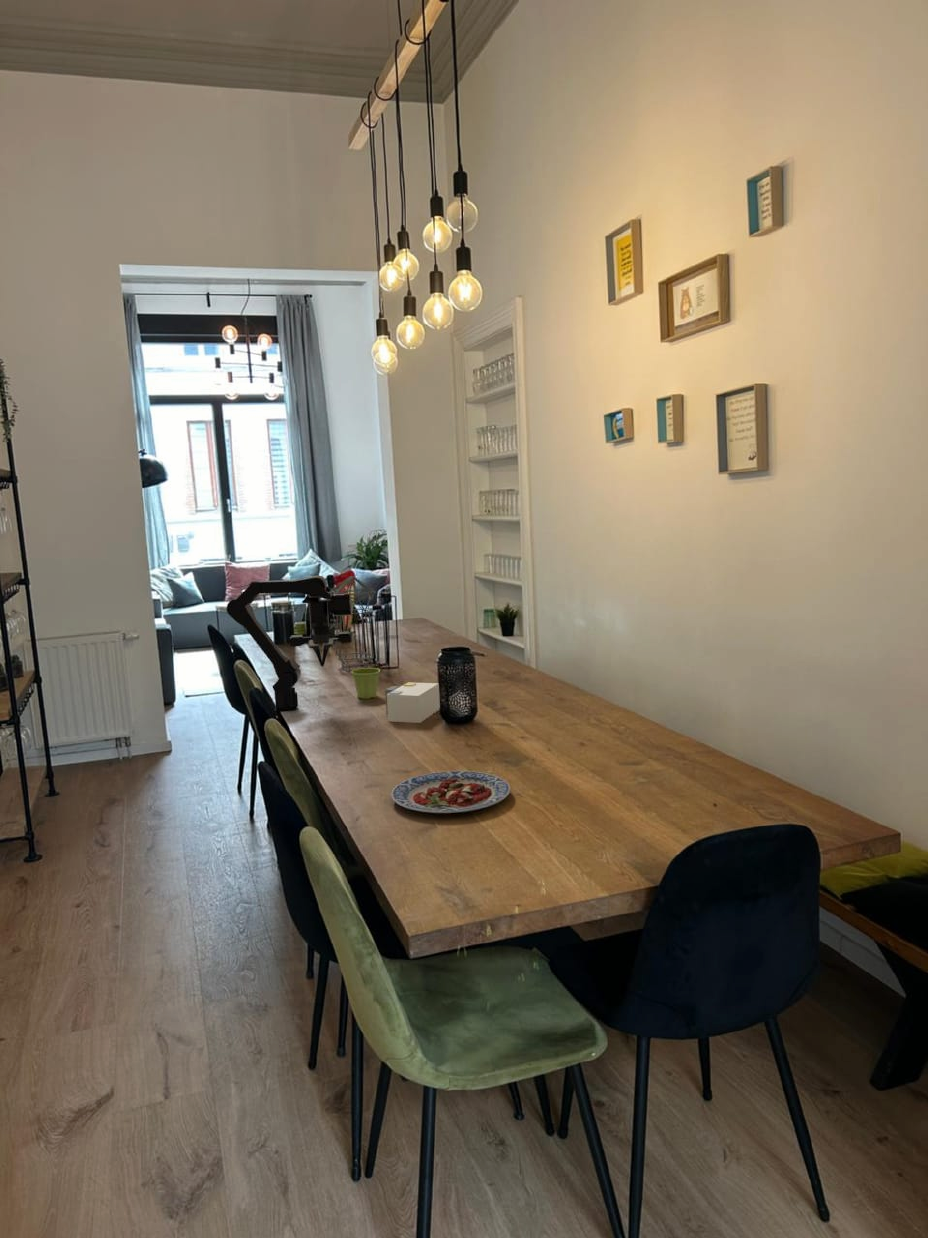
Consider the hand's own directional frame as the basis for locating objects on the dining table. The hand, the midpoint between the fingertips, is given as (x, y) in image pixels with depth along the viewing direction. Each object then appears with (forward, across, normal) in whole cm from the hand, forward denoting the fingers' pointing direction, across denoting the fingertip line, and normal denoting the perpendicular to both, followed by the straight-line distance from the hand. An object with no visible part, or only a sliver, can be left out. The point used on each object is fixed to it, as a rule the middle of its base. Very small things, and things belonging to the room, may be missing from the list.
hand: (322, 666), depth 277 cm
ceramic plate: (+14, +24, -93) cm, 97 cm away
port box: (+13, +26, -20) cm, 35 cm away
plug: (+13, +23, -18) cm, 32 cm away
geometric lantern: (+13, +14, +58) cm, 61 cm away
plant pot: (+13, +14, +9) cm, 21 cm away
